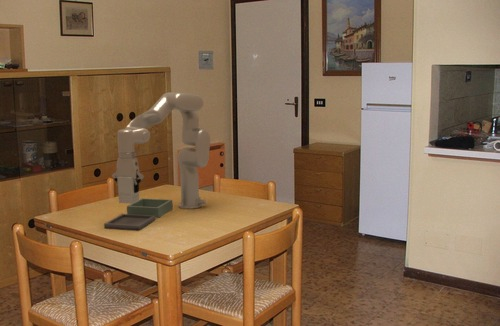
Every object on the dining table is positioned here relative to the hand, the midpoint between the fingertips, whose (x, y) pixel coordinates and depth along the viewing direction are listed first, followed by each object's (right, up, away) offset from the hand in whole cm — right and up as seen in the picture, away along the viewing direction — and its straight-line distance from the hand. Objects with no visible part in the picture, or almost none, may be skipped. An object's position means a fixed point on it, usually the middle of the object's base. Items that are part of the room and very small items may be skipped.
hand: (128, 191), depth 274 cm
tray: (0, -16, +3) cm, 16 cm away
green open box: (+6, -12, +24) cm, 27 cm away
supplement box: (0, -5, +1) cm, 5 cm away
